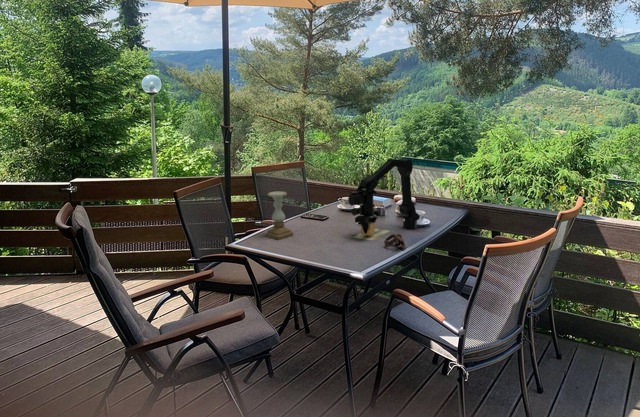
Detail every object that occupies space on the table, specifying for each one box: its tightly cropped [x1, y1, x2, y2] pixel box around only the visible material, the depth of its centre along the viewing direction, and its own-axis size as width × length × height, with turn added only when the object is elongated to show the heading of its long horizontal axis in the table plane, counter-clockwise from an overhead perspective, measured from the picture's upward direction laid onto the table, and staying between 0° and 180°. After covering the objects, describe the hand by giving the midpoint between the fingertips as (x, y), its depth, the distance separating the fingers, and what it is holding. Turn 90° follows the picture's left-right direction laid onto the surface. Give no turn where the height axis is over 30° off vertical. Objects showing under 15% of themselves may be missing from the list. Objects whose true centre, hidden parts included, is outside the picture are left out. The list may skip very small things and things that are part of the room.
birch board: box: [352, 228, 391, 242], centre depth 258 cm, size 13×20×1 cm, turn 149°
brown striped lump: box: [383, 233, 407, 251], centre depth 237 cm, size 12×10×8 cm
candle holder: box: [265, 190, 294, 241], centre depth 260 cm, size 11×11×24 cm
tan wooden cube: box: [360, 222, 376, 236], centre depth 253 cm, size 5×5×6 cm
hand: (367, 231), depth 254 cm, fingers closed on tan wooden cube, 5 cm apart
